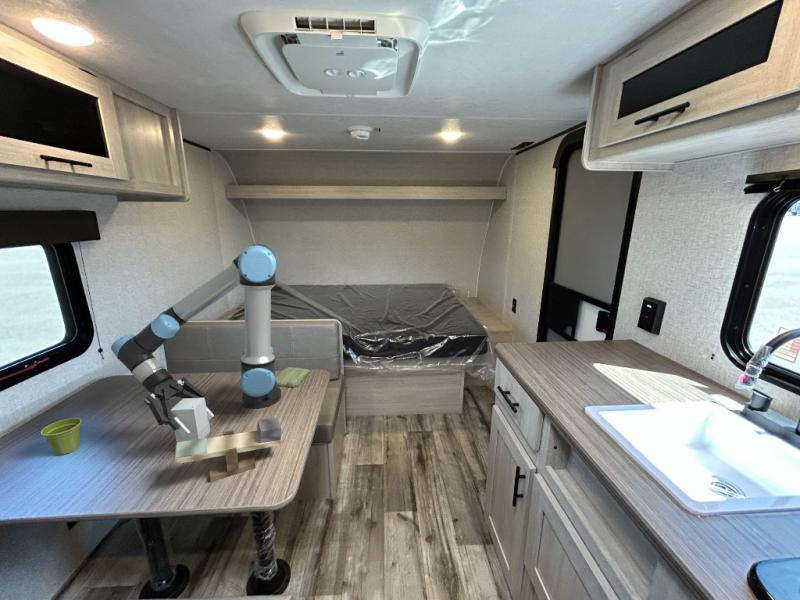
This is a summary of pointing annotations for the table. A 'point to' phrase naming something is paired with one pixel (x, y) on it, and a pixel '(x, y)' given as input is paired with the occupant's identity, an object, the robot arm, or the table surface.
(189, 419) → the supplement box
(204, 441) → the seesaw beam
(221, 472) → the fulcrum stand
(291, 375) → the washcloth
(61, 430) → the plant pot
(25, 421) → the table surface
